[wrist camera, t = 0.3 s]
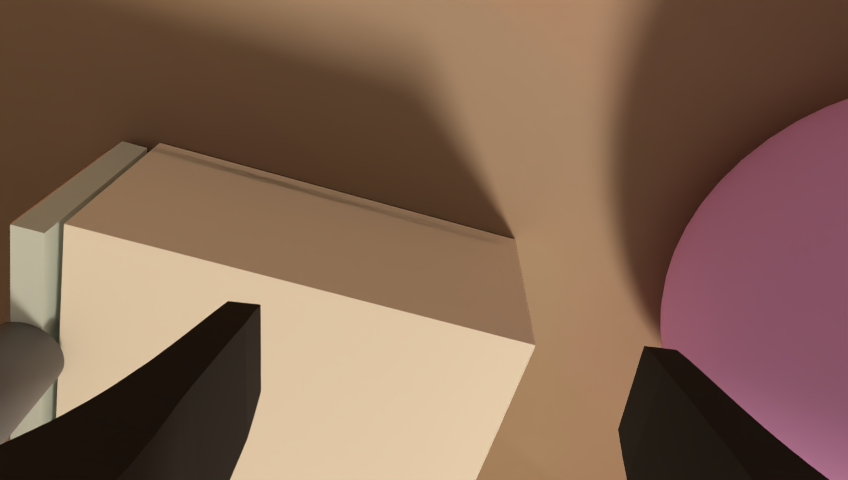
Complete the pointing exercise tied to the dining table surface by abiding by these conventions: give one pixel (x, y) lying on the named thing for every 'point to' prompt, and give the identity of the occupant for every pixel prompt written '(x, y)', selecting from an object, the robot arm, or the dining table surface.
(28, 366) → the flap
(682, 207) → the dining table surface
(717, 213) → the teapot
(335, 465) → the carton
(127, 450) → the robot arm
